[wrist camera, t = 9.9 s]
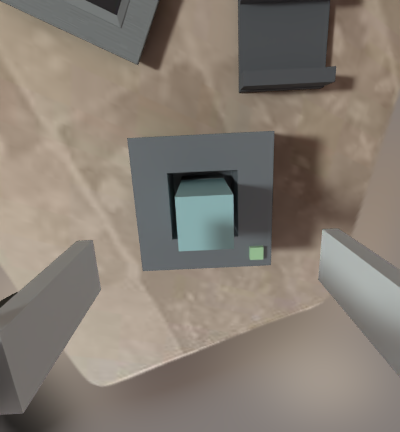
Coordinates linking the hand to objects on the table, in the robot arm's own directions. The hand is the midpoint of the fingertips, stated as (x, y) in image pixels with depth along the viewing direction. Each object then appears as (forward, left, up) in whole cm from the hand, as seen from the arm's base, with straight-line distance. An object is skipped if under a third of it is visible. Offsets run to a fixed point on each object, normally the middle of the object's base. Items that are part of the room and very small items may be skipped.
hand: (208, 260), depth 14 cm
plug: (0, 0, -16) cm, 16 cm away
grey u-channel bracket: (-14, +8, -17) cm, 23 cm away
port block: (0, 0, -17) cm, 17 cm away
